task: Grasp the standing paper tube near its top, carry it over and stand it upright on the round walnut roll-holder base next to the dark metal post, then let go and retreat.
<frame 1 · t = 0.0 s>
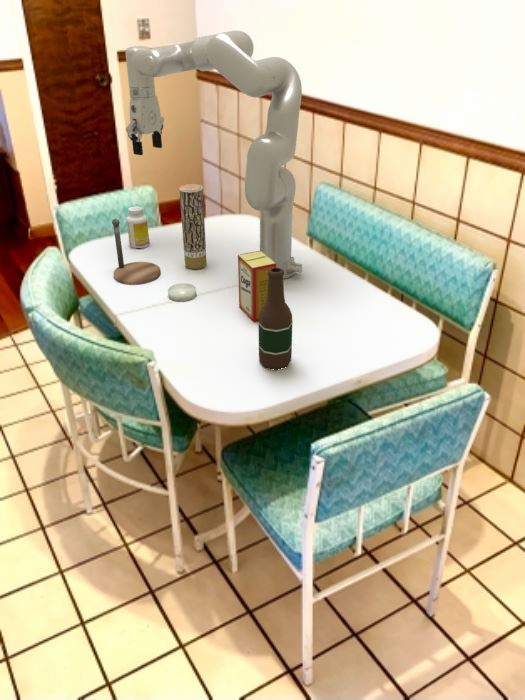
hand: (148, 150, 198), 31 cm above the table, fingers open, 9 cm apart
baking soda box: (257, 313, 173), on the table
holder base: (137, 274, 194), on the table
sage dish: (182, 295, 182), on the table
beer bottle: (275, 362, 152), on the table
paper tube: (195, 266, 200), on the table
supplement bottle: (139, 246, 214), on the table
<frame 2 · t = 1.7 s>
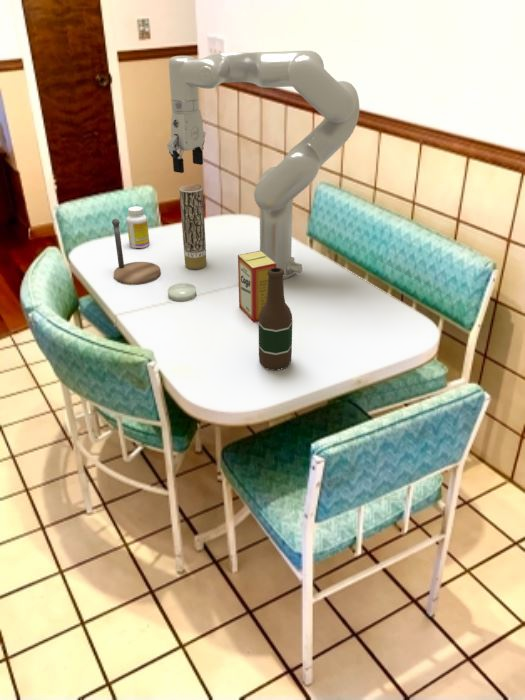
hand: (188, 167, 184), 31 cm above the table, fingers open, 9 cm apart
nothing on the table moved.
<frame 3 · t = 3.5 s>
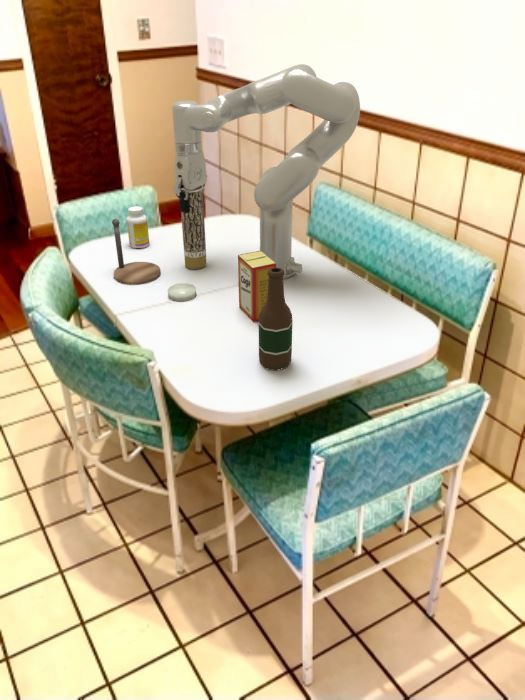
hand: (192, 207, 190), 19 cm above the table, fingers closed on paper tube, 6 cm apart
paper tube: (195, 266, 200), on the table, touching gripper
everything else where it was.
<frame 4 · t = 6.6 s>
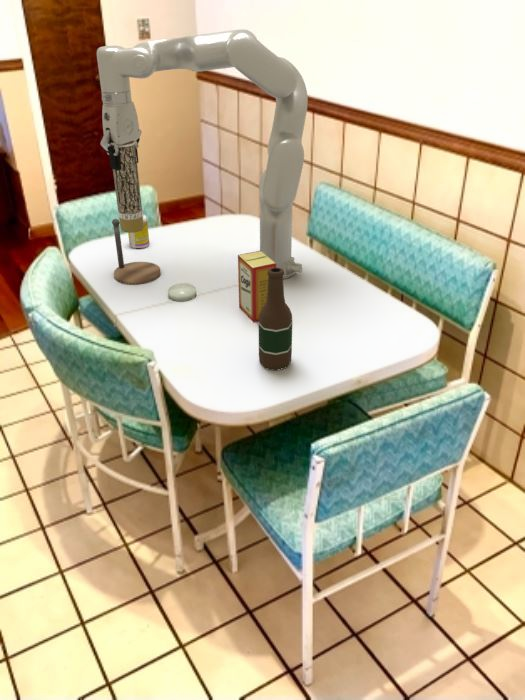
hand: (124, 165, 177), 33 cm above the table, fingers closed on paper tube, 6 cm apart
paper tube: (132, 230, 187), point 14 cm above the table, touching gripper
everything else where it was.
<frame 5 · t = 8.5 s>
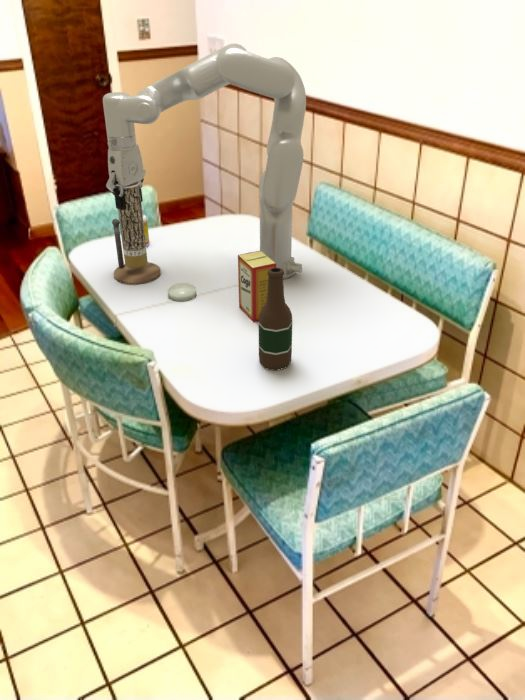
hand: (129, 204, 183), 22 cm above the table, fingers closed on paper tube, 6 cm apart
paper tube: (136, 265, 193), point 3 cm above the table, touching gripper
everything else where it was.
when the fingers open (21 cm above the table, at t = 9.6 s): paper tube drops 2 cm, resting on holder base.
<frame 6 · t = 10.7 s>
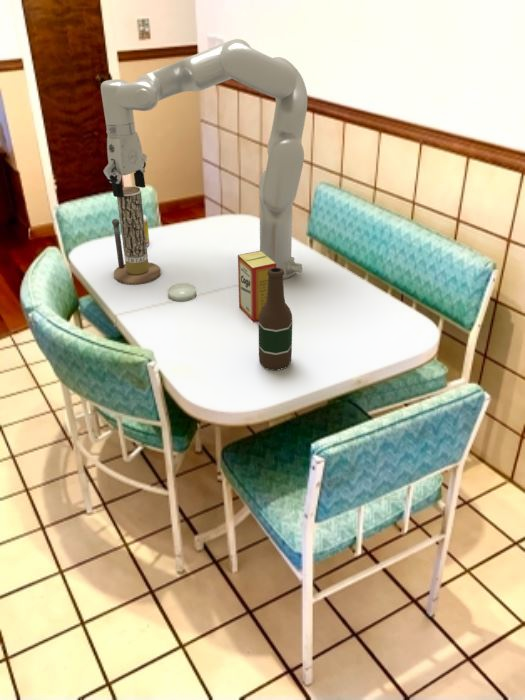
hand: (129, 191, 181), 26 cm above the table, fingers open, 9 cm apart
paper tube: (137, 271, 194), point 1 cm above the table, touching holder base
everything else where it was.
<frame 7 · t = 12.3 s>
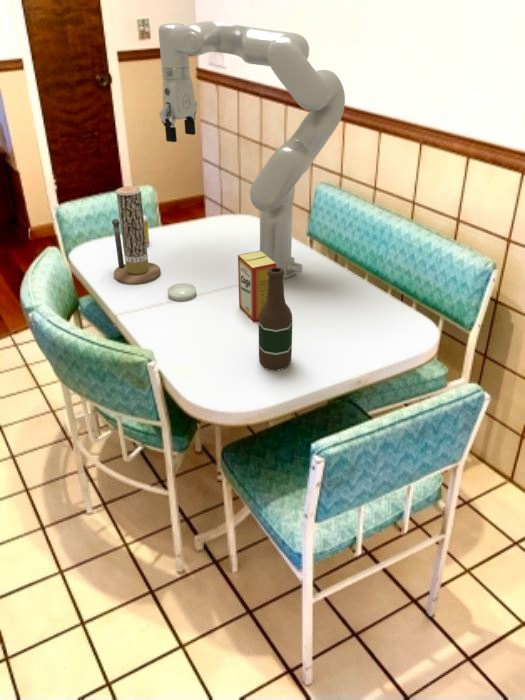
hand: (181, 137, 184), 38 cm above the table, fingers open, 9 cm apart
nothing on the table moved.
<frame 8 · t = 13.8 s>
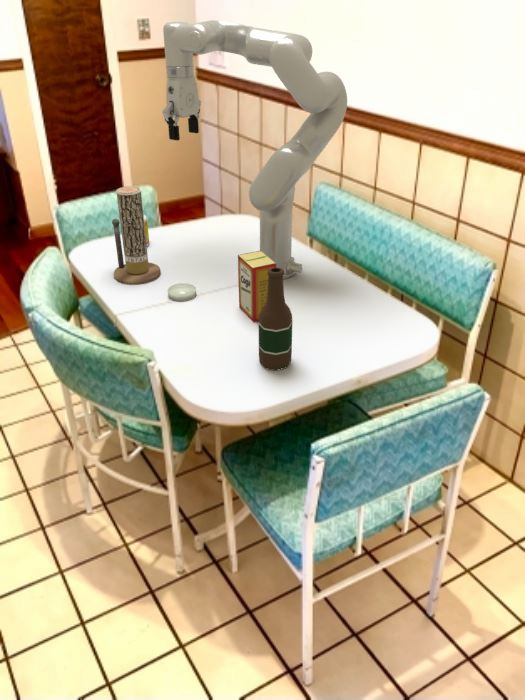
hand: (184, 136, 184), 38 cm above the table, fingers open, 9 cm apart
nothing on the table moved.
at the end: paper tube 0.2 cm from the holder base (horizontally); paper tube tilted 1°; the gripper is holding nothing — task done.
